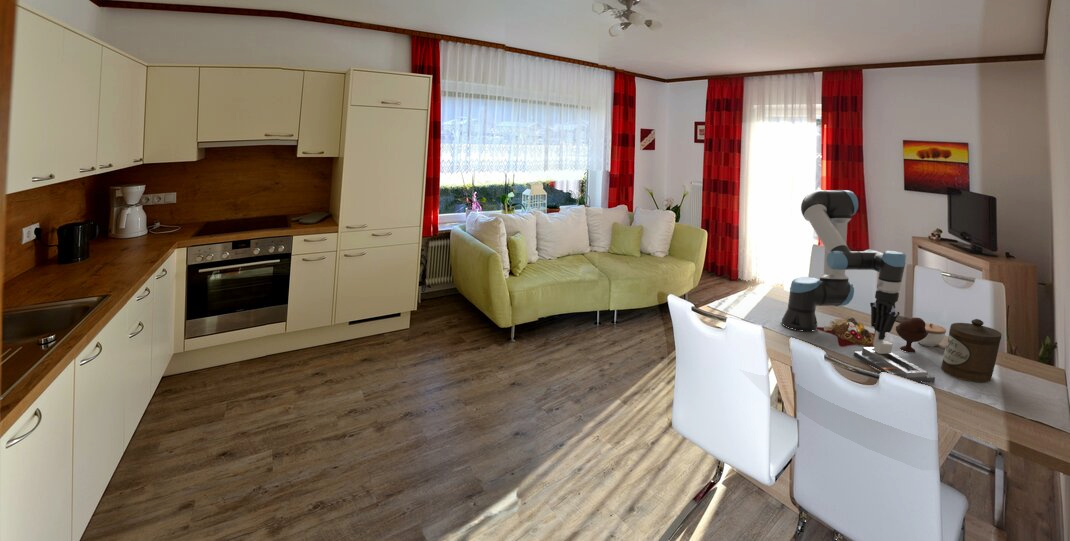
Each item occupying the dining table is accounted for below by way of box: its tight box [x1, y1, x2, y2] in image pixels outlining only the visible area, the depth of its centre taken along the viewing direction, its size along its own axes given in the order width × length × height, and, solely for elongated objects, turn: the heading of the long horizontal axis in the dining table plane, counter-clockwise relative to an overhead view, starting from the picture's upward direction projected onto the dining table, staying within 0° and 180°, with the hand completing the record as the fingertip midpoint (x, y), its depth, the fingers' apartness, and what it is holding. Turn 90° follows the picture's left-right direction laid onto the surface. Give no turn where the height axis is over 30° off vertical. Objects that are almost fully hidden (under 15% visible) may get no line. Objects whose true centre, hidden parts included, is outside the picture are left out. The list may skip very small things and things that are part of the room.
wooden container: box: [940, 318, 1002, 383], centre depth 187 cm, size 15×15×22 cm
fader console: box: [853, 346, 936, 384], centre depth 194 cm, size 24×14×4 cm, turn 4°
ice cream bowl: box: [895, 317, 929, 354], centre depth 209 cm, size 11×11×15 cm
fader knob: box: [873, 340, 893, 359], centre depth 199 cm, size 3×5×6 cm
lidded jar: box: [918, 322, 947, 347], centre depth 216 cm, size 11×11×9 cm
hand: (877, 345), depth 201 cm, fingers closed
